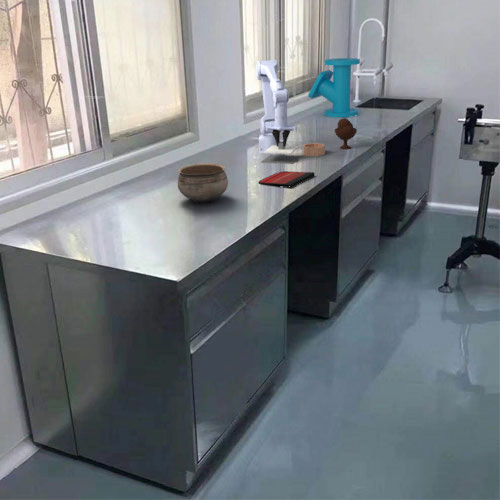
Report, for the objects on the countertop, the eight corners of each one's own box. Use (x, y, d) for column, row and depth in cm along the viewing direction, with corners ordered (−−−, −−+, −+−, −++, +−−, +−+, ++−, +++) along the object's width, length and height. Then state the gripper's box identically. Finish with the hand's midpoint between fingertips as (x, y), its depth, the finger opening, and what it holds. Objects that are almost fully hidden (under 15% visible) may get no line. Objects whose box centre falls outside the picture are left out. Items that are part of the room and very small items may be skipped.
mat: (260, 163, 271) (260, 162, 271) (270, 155, 285) (270, 154, 285) (293, 165, 266) (293, 164, 266) (302, 157, 280) (302, 156, 280)
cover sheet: (263, 152, 270) (263, 144, 269) (272, 146, 282) (272, 139, 280) (290, 153, 266) (290, 146, 265) (298, 147, 277) (298, 140, 276)
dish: (300, 156, 281) (300, 147, 279) (306, 151, 290) (306, 142, 288) (321, 157, 277) (321, 148, 276) (326, 152, 286) (326, 143, 285)
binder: (314, 171, 246) (289, 184, 230) (314, 177, 247) (290, 190, 231) (281, 169, 255) (255, 181, 239) (282, 174, 256) (256, 186, 240)
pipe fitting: (350, 118, 374) (352, 61, 360) (305, 115, 389) (305, 60, 376) (363, 112, 391) (365, 58, 378) (319, 110, 407) (320, 58, 393)
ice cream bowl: (356, 150, 288) (357, 119, 283) (333, 150, 291) (333, 120, 285) (356, 145, 298) (357, 116, 292) (334, 145, 300) (335, 116, 295)
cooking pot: (215, 212, 207) (213, 178, 203) (167, 208, 213) (164, 176, 208) (238, 192, 229) (236, 161, 224) (194, 189, 235) (191, 159, 230)
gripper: (263, 118, 267) (264, 147, 272) (293, 118, 262) (293, 148, 267) (268, 115, 273) (268, 144, 278) (297, 116, 268) (298, 145, 273)
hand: (281, 146), depth 273 cm, fingers closed on cover sheet, 2 cm apart
